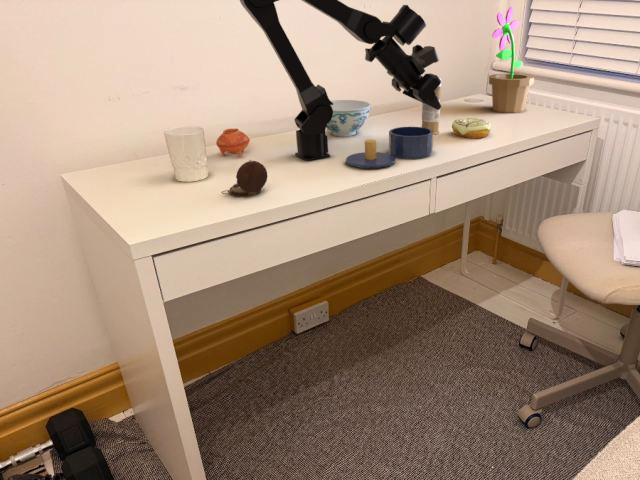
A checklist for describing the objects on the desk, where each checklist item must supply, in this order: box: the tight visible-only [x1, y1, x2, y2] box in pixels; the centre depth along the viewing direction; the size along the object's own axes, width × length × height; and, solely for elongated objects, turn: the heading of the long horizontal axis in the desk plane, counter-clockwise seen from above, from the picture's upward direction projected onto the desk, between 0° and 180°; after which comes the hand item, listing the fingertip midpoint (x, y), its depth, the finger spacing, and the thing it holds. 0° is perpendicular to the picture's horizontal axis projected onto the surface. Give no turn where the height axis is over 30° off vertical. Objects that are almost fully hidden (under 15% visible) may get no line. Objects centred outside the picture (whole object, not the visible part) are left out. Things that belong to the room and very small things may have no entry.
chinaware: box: [326, 99, 371, 137], centre depth 152 cm, size 15×15×8 cm
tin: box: [388, 126, 434, 160], centre depth 134 cm, size 10×10×5 cm
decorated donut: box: [451, 117, 492, 139], centre depth 151 cm, size 10×11×4 cm
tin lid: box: [345, 139, 396, 169], centre depth 127 cm, size 11×11×5 cm
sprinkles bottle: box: [421, 77, 443, 136], centre depth 138 cm, size 5×5×13 cm
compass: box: [221, 159, 268, 197], centre depth 108 cm, size 8×8×7 cm
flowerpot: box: [488, 6, 535, 114], centre depth 175 cm, size 14×14×30 cm
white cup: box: [163, 125, 209, 183], centre depth 117 cm, size 8×8×10 cm
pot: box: [215, 127, 251, 158], centre depth 134 cm, size 8×8×7 cm
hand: (436, 106), depth 138 cm, fingers closed on sprinkles bottle, 4 cm apart
